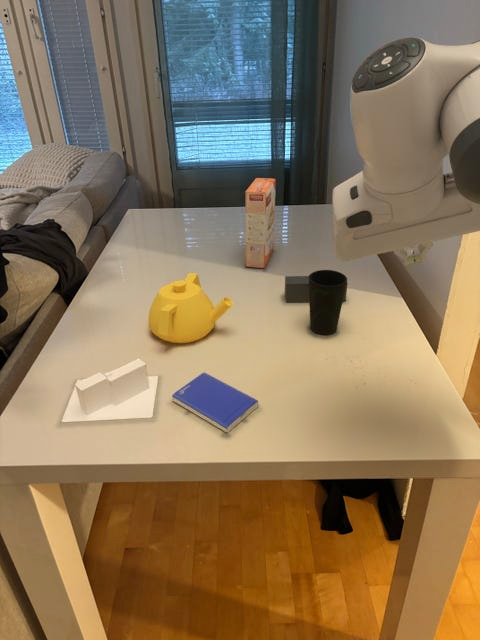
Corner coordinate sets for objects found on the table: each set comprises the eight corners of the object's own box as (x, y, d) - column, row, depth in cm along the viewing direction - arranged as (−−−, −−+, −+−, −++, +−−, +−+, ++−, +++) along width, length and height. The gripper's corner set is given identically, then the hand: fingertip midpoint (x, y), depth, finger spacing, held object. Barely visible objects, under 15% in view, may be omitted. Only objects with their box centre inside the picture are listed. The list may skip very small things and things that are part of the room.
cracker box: (266, 269, 125) (267, 192, 114) (244, 267, 126) (243, 191, 116) (275, 249, 137) (276, 177, 126) (254, 248, 138) (254, 176, 127)
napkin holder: (158, 375, 87) (155, 349, 84) (153, 417, 77) (149, 390, 74) (76, 379, 86) (70, 354, 83) (60, 423, 76) (52, 396, 73)
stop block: (342, 294, 113) (344, 275, 110) (345, 302, 109) (347, 282, 107) (284, 294, 113) (285, 276, 110) (285, 302, 109) (286, 283, 107)
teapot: (221, 361, 90) (218, 312, 84) (133, 350, 94) (125, 302, 88) (244, 310, 106) (243, 266, 101) (169, 302, 110) (164, 260, 105)
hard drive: (171, 394, 79) (226, 426, 73) (204, 371, 85) (258, 399, 78) (172, 401, 80) (226, 434, 73) (204, 378, 86) (258, 406, 79)
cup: (342, 321, 102) (348, 271, 96) (340, 340, 95) (346, 288, 89) (307, 317, 103) (310, 268, 97) (303, 335, 97) (306, 284, 91)
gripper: (491, 144, 55) (487, 226, 65) (320, 192, 61) (342, 259, 72) (507, 178, 51) (501, 259, 62) (324, 225, 58) (346, 291, 68)
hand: (414, 260), depth 67 cm, fingers closed
